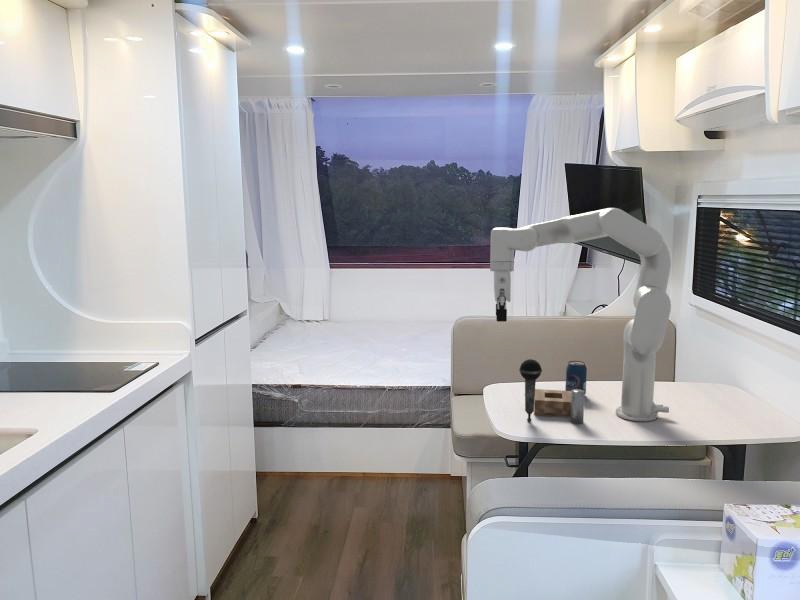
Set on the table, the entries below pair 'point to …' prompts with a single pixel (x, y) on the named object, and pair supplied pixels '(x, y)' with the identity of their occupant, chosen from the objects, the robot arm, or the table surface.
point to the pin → (577, 406)
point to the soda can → (576, 376)
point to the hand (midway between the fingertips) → (501, 318)
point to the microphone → (530, 383)
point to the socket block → (552, 403)
